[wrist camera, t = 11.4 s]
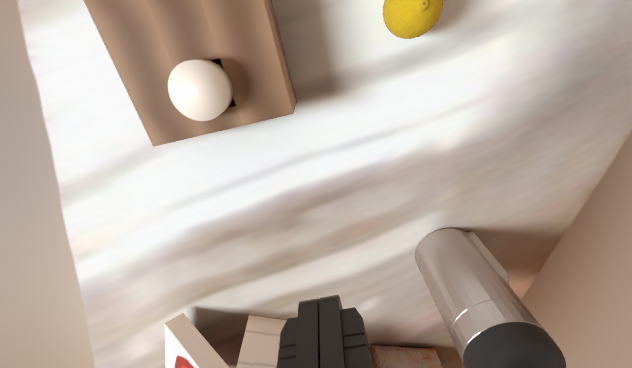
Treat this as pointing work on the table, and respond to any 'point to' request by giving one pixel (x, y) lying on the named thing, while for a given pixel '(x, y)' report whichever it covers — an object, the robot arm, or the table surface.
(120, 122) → the table surface
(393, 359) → the food item
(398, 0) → the lemon
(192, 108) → the white rounded piece
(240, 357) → the pizza boxes
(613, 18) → the table surface
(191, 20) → the walnut block
